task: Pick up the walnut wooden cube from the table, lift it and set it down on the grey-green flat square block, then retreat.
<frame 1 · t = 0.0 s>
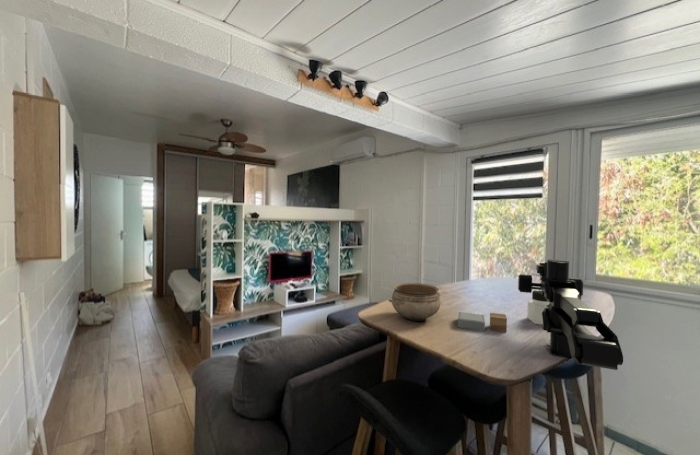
hand: (543, 280, 109), 17 cm above the table, tool horizontal, fingers open, 9 cm apart
walnut cube: (497, 329, 104), on the table
medicine bottle: (540, 322, 112), on the table
cooking pot: (415, 318, 115), on the table
grey-green flat square block: (470, 324, 108), on the table
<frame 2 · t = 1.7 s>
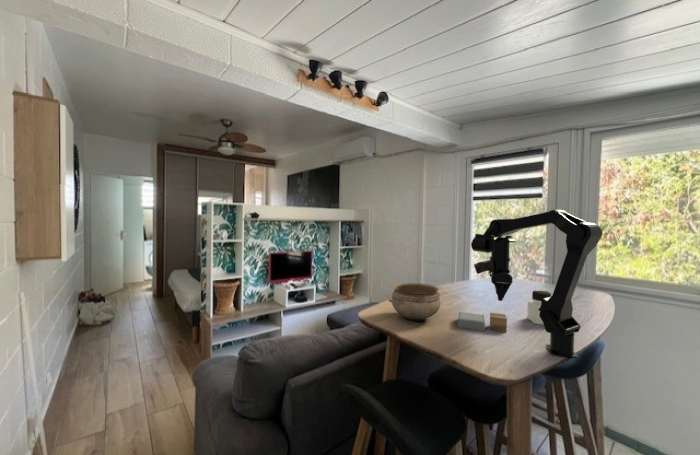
hand: (498, 297, 104), 11 cm above the table, tool pointing down, fingers open, 9 cm apart
nothing on the table moved.
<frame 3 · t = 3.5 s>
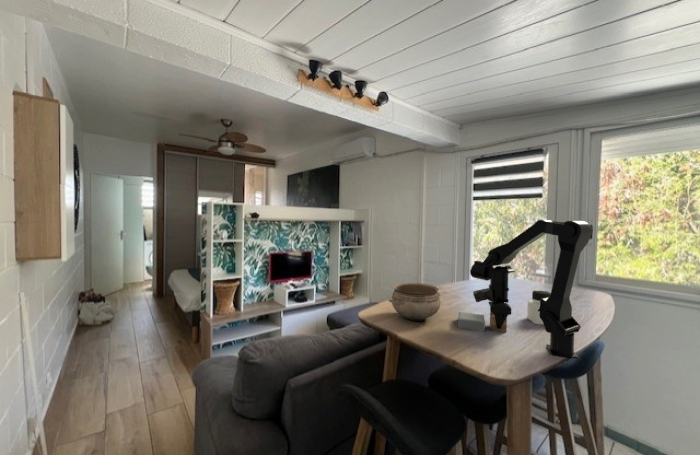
hand: (497, 325, 104), 1 cm above the table, tool pointing down, fingers closed on walnut cube, 5 cm apart
walnut cube: (497, 328, 104), on the table, touching gripper
everything else where it was.
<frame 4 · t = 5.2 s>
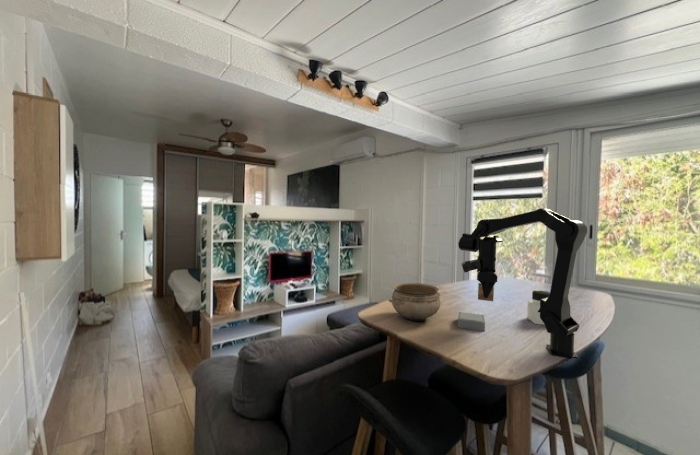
hand: (485, 295, 106), 11 cm above the table, tool pointing down, fingers closed on walnut cube, 5 cm apart
walnut cube: (485, 298, 106), point 10 cm above the table, touching gripper
everything else where it was.
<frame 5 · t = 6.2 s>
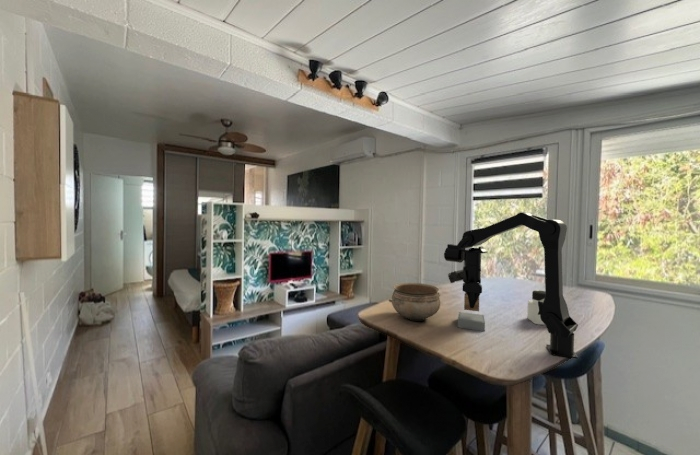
hand: (471, 305, 108), 7 cm above the table, tool pointing down, fingers closed on walnut cube, 5 cm apart
walnut cube: (471, 308, 108), point 6 cm above the table, touching gripper
everything else where it was.
when the fingers open (5 cm above the table, at t = 7.0 s): walnut cube stays where it is, resting on grey-green flat square block.
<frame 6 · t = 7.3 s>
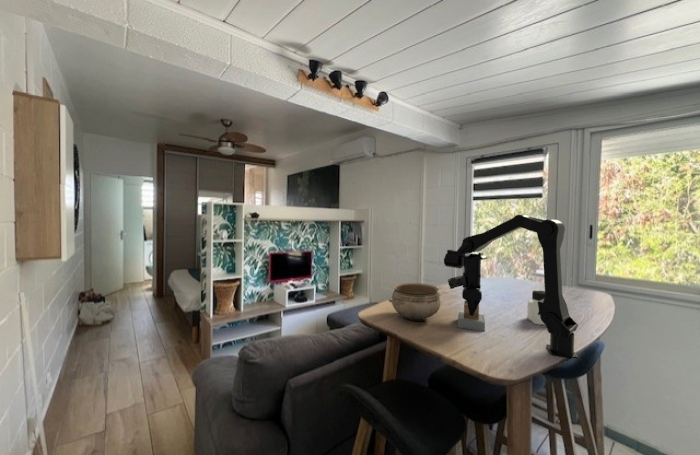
hand: (471, 311, 108), 5 cm above the table, tool pointing down, fingers open, 8 cm apart
walnut cube: (471, 316, 108), point 3 cm above the table, touching grey-green flat square block
everything else where it was.
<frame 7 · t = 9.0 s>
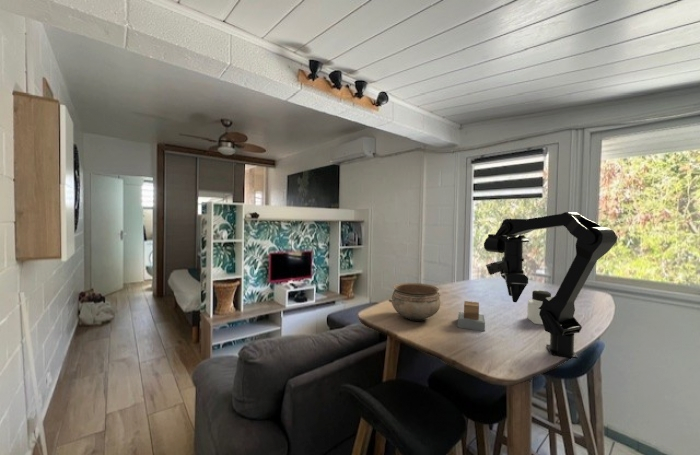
hand: (512, 298, 101), 12 cm above the table, tool pointing down, fingers open, 9 cm apart
nothing on the table moved.
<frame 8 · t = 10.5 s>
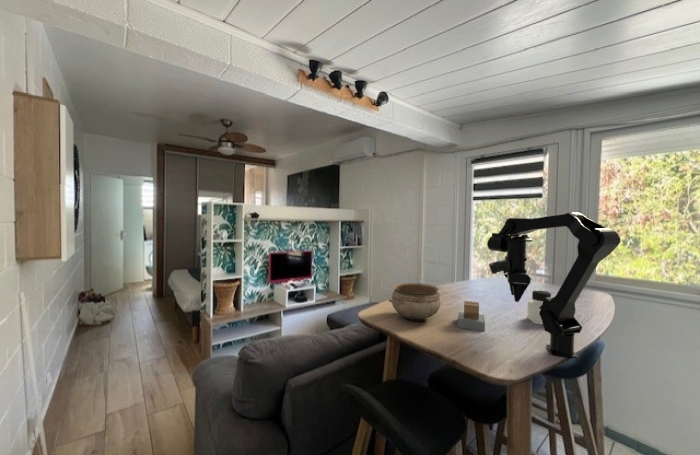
hand: (514, 298, 101), 12 cm above the table, tool pointing down, fingers open, 9 cm apart
nothing on the table moved.
at the end: walnut cube 0.0 cm off-centre on the grey-green flat square block, point 3.1 cm above the grey-green flat square block's base; walnut cube tilted 0°; the gripper is holding nothing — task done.
